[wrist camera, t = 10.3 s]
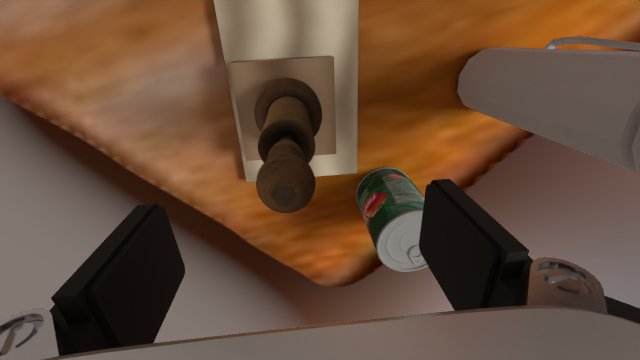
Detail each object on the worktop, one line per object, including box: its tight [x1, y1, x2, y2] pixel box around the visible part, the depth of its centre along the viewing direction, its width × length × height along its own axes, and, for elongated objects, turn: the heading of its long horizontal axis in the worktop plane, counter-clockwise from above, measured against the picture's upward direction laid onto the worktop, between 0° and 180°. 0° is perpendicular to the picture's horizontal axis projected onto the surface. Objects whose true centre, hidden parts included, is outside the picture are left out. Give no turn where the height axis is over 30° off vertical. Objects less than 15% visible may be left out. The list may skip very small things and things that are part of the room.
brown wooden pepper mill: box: [254, 78, 322, 213], centre depth 22 cm, size 7×6×18 cm
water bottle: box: [457, 36, 640, 173], centre depth 23 cm, size 9×8×25 cm
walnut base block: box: [229, 55, 336, 161], centre depth 31 cm, size 10×10×3 cm
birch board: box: [214, 0, 359, 182], centre depth 33 cm, size 14×20×1 cm
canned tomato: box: [356, 167, 428, 272], centre depth 35 cm, size 8×8×11 cm
